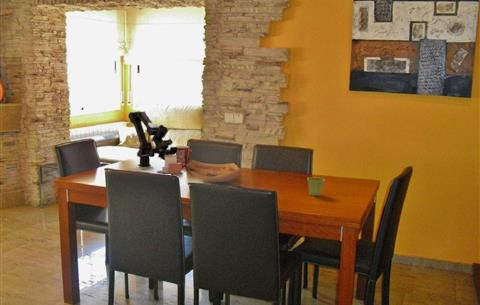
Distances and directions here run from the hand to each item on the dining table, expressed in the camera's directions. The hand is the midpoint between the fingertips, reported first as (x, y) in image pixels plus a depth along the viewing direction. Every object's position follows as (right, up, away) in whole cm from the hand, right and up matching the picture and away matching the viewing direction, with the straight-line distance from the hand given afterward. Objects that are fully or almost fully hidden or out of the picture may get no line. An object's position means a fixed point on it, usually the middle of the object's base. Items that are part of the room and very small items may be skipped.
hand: (168, 162), depth 307 cm
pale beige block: (+1, -6, -1) cm, 6 cm away
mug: (+7, -4, +23) cm, 25 cm away
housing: (+1, -7, 0) cm, 7 cm away
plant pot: (+85, -17, -44) cm, 97 cm away
